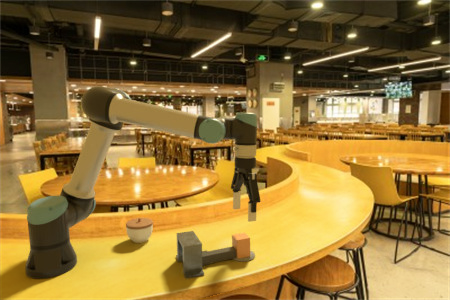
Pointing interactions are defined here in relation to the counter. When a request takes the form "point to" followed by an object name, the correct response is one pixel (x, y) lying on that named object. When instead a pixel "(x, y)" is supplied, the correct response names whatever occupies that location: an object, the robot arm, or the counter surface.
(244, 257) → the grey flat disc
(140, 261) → the counter surface
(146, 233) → the lidded jar
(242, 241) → the plug
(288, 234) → the counter surface
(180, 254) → the housing
